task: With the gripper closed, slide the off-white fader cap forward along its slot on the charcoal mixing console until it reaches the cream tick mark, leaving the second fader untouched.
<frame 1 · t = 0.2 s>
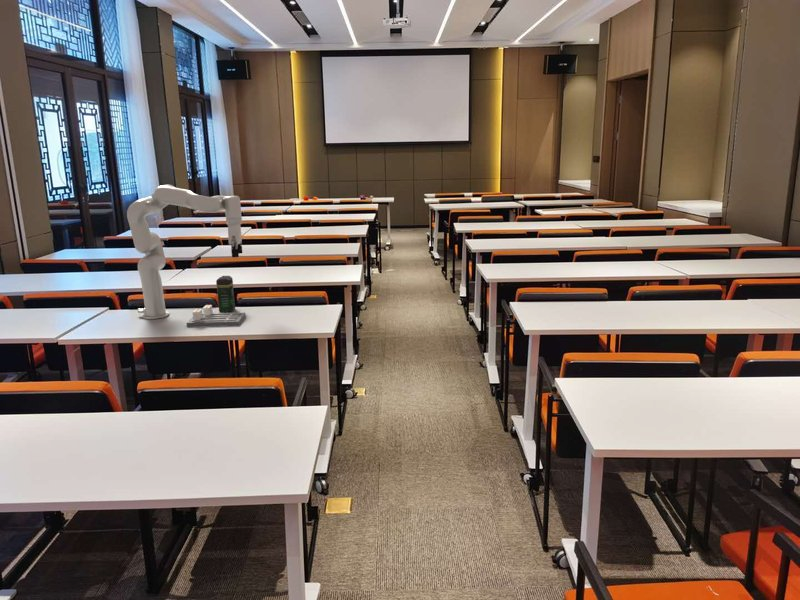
hand: (237, 255, 295), 31 cm above the table, fingers open, 9 cm apart
fader cap: (197, 314, 286), point 5 cm above the table, slide at 0.0 cm
console: (217, 321, 291), on the table
coffee jar: (227, 311, 309), on the table
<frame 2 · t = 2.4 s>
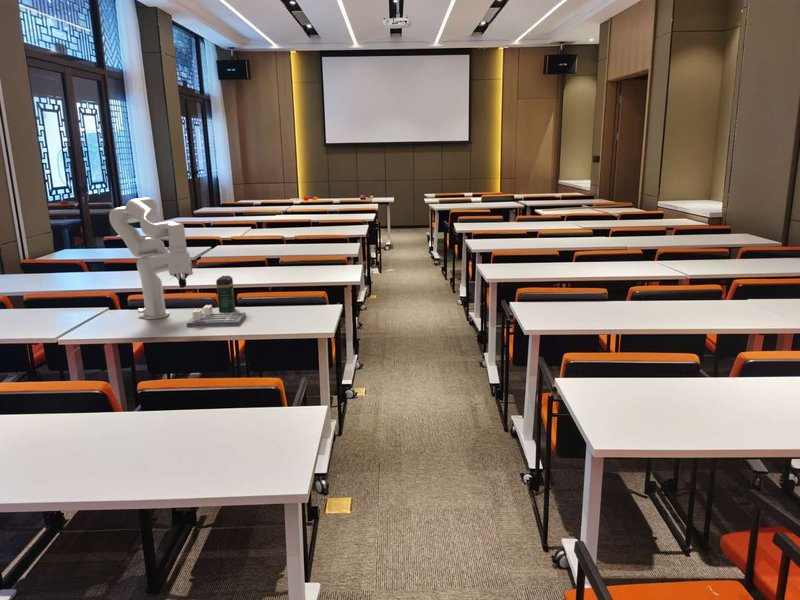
hand: (183, 287, 282), 19 cm above the table, fingers closed
nothing on the table moved.
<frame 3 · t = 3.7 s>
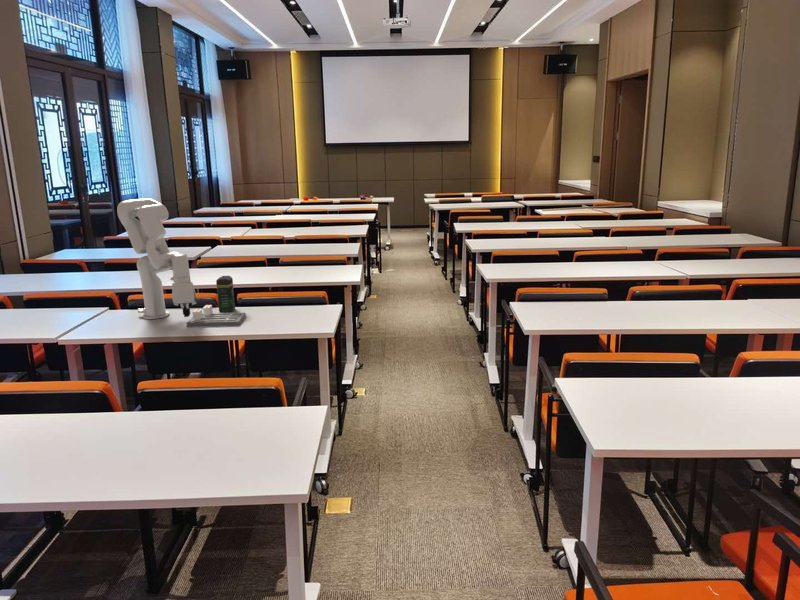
hand: (187, 316, 286), 4 cm above the table, fingers closed
nothing on the table moved.
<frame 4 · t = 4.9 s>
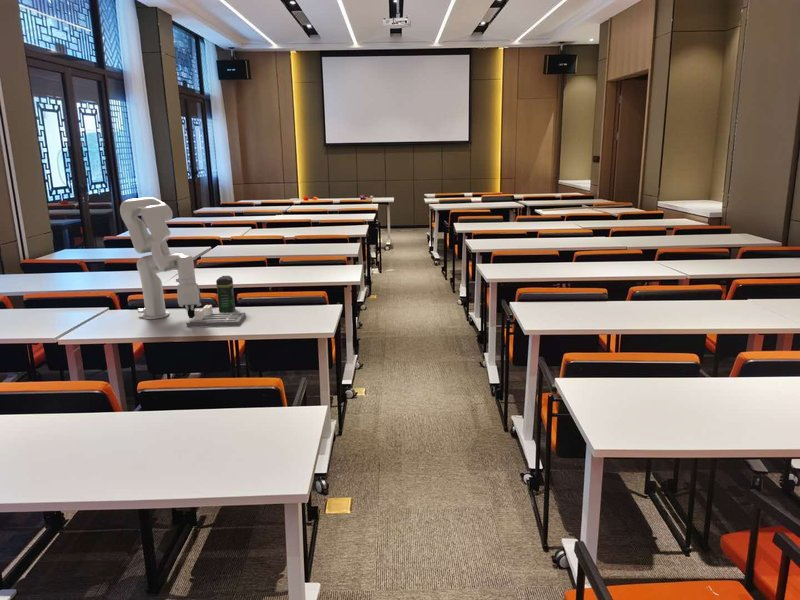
hand: (191, 317, 286), 3 cm above the table, fingers closed
fader cap: (199, 314, 286), point 5 cm above the table, slide at 0.9 cm, touching gripper
everything else where it was.
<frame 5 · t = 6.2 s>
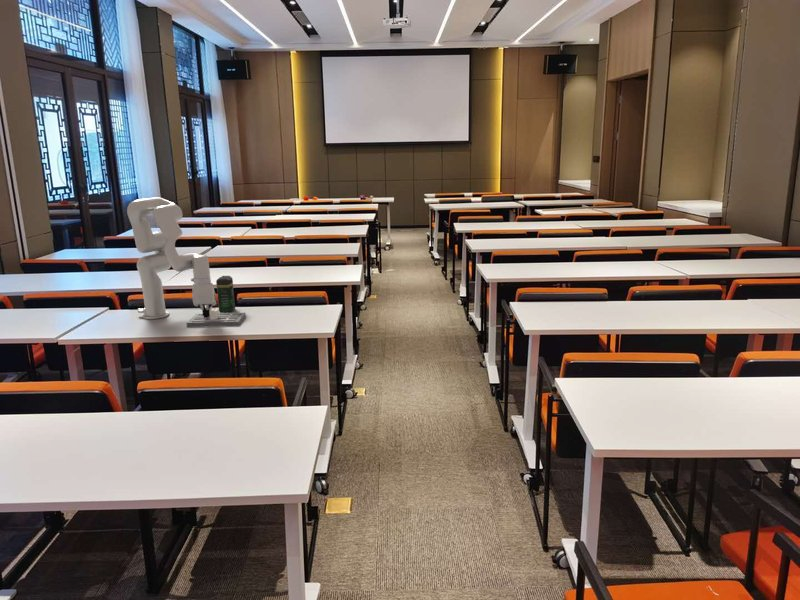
hand: (206, 317, 287), 4 cm above the table, fingers closed
fader cap: (214, 313, 286), point 5 cm above the table, slide at 8.1 cm, touching gripper
everything else where it was.
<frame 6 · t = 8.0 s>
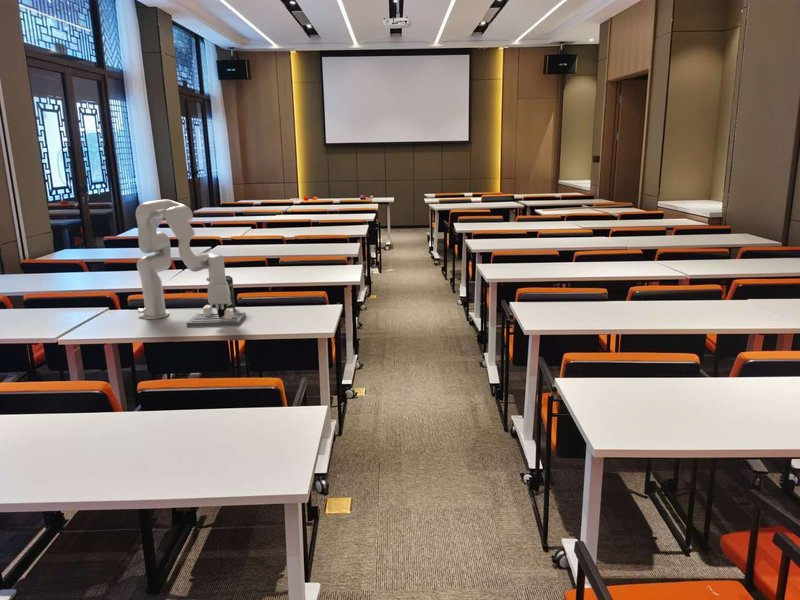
hand: (221, 316, 287), 3 cm above the table, fingers closed
fader cap: (229, 313, 287), point 5 cm above the table, slide at 15.4 cm, touching gripper
everything else where it was.
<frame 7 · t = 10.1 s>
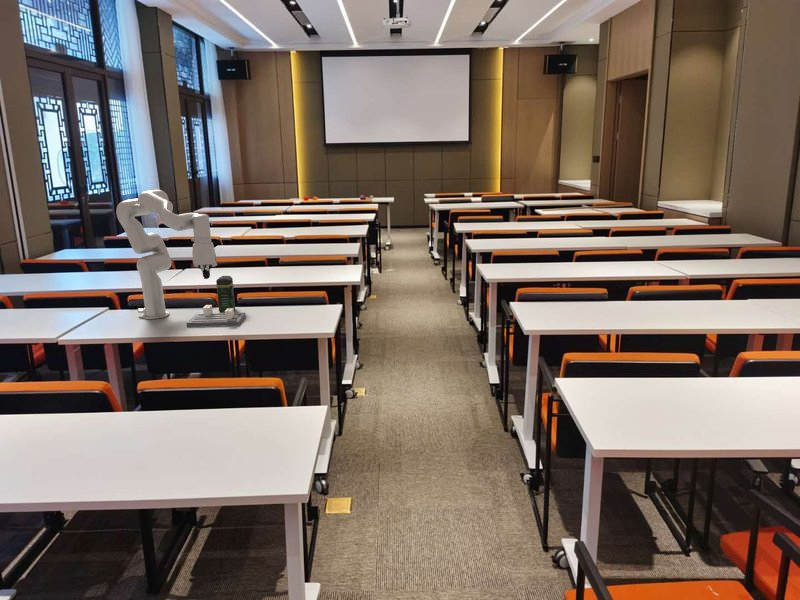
hand: (206, 278, 282), 23 cm above the table, fingers closed
fader cap: (229, 313, 287), point 5 cm above the table, slide at 15.4 cm
everything else where it was.
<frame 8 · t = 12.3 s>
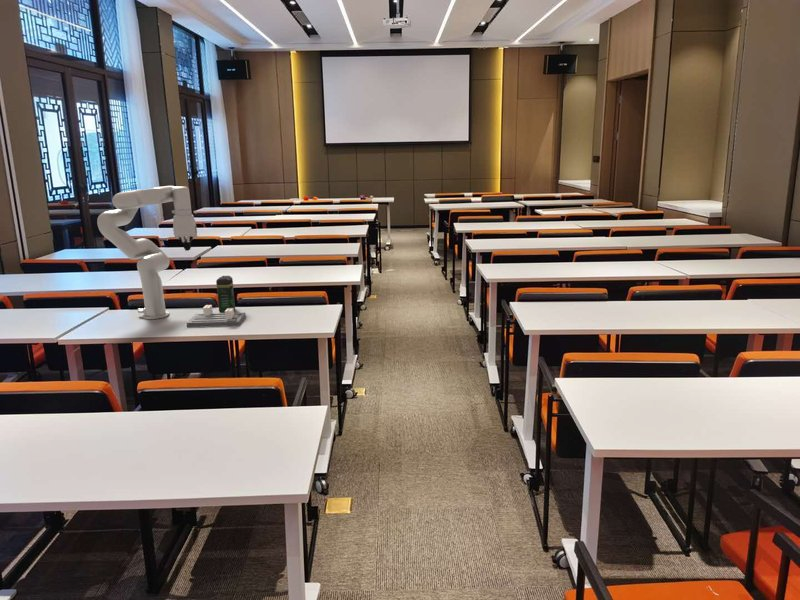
hand: (187, 250, 288), 35 cm above the table, fingers closed
nothing on the table moved.
at the end: fader cap slide at 15.4 cm; fader cap touching nothing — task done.
